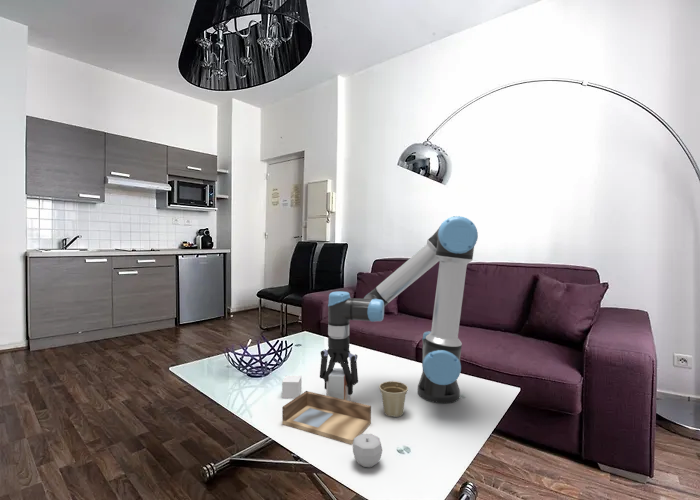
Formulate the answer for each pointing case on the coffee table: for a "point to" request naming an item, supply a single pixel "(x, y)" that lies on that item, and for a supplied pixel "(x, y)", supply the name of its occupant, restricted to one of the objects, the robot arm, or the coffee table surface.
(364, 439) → the apple
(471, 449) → the coffee table surface
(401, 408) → the flower pot
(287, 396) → the white cube
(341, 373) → the small box
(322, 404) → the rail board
